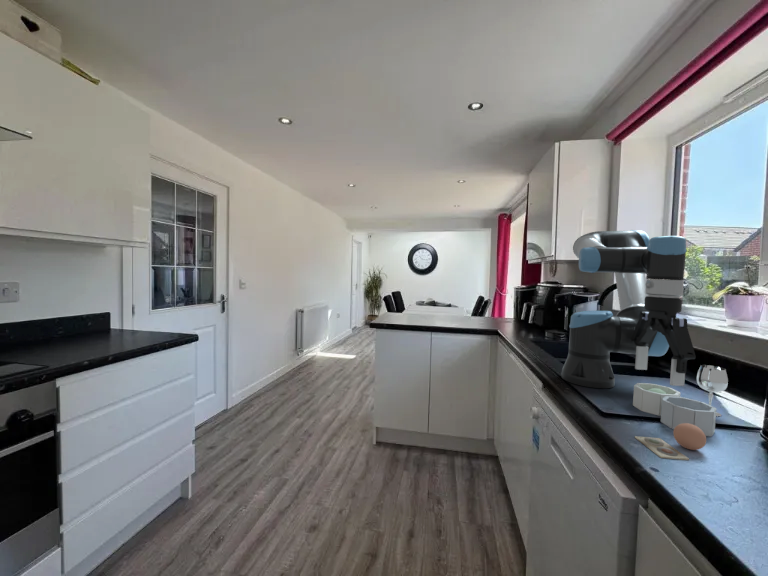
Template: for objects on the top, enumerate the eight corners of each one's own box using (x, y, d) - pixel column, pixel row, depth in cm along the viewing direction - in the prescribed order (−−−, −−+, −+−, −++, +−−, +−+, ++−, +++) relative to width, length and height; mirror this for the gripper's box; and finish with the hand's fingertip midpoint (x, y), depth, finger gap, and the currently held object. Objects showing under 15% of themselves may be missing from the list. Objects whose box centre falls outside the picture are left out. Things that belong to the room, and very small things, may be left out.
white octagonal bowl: (626, 401, 94) (628, 382, 94) (661, 403, 93) (663, 384, 93) (648, 415, 85) (649, 393, 85) (687, 417, 84) (688, 396, 84)
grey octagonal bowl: (653, 417, 84) (654, 395, 84) (692, 419, 83) (694, 397, 83) (680, 434, 75) (682, 410, 75) (725, 437, 74) (727, 413, 74)
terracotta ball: (666, 441, 72) (668, 418, 72) (692, 443, 71) (693, 420, 71) (684, 453, 67) (686, 429, 67) (712, 455, 66) (714, 431, 66)
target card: (634, 437, 73) (634, 435, 73) (659, 439, 72) (659, 437, 72) (660, 457, 65) (660, 455, 65) (689, 460, 65) (689, 457, 64)
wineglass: (703, 407, 91) (706, 363, 91) (730, 416, 86) (734, 369, 85) (689, 409, 90) (692, 365, 89) (716, 418, 84) (719, 371, 83)
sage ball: (638, 400, 92) (642, 384, 91) (658, 402, 91) (662, 385, 90) (650, 411, 87) (654, 393, 86) (671, 413, 86) (675, 395, 85)
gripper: (619, 292, 100) (615, 363, 102) (684, 299, 76) (677, 392, 77) (647, 293, 100) (642, 364, 101) (721, 300, 75) (713, 394, 76)
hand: (657, 376), depth 89 cm, fingers open, 13 cm apart
